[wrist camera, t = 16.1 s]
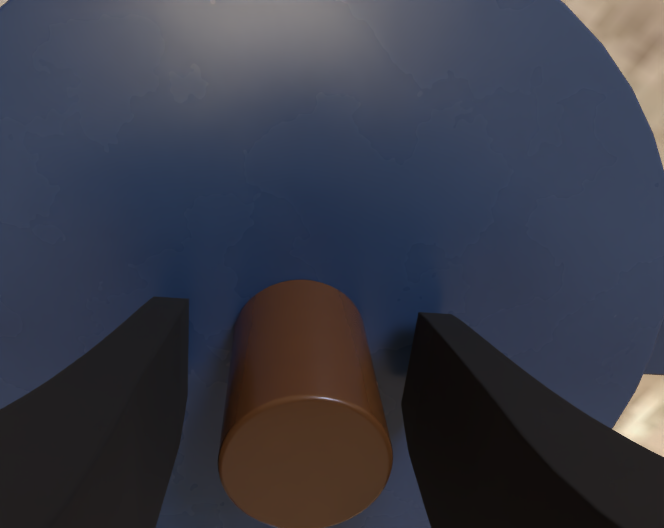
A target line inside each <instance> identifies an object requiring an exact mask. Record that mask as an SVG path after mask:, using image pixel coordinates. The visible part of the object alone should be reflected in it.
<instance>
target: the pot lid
mask: <svg viewBox="0 0 664 528" xmlns="http://www.w3.org/2000/svg"><path fill="white" fill-rule="evenodd" d="M153 296H154V297H171V298H188V299H189V344H188V397H187V403H186V410H185V416H184V422H183V428H182V434H181V440H180V445H179V449H178V453H177V456H176V460H175V463H174V466H173V470H172V473H171V477H170V480H169V484H168V487H167V490H166V494H165V497H164V500H163V504H162V507H161V511H160V514H159V517H158V521H157V524H156V528H431V526H430V523H429V519H428V516H427V513H426V510H425V506H424V503H423V500H422V497H421V493H420V490H419V487H418V483H417V480H416V477H415V473H414V470H413V466H412V463H411V459H410V456H409V452H408V447H407V441H406V435H405V429H404V422H403V415H402V408H401V401H402V396H403V391H404V385H405V380H406V375H407V370H408V365H409V359H410V354H411V349H412V344H413V338H414V333H415V328H416V323H417V317H418V312H426V313H443V314H452V315H454V316H455V317H457V318H458V319H460V320H461V321H462V322H464V323H465V324H466V325H468V326H469V327H470V328H472V329H473V330H474V331H475V332H477V333H478V334H479V335H480V336H482V337H483V338H484V339H485V340H487V341H488V342H489V343H490V344H491V345H493V346H494V347H495V348H496V349H498V350H499V351H500V352H501V353H503V354H504V355H505V356H506V357H508V358H509V359H510V360H512V361H513V362H514V363H515V364H517V365H518V366H519V367H521V368H522V369H523V370H524V371H526V372H527V373H528V374H530V375H531V376H532V377H534V378H535V379H536V380H538V381H539V382H541V383H542V384H543V385H545V386H546V387H547V388H549V389H550V390H552V391H553V392H555V393H556V394H558V395H559V396H560V397H562V398H563V399H565V400H566V401H568V402H569V403H570V404H572V405H573V406H575V407H576V408H578V409H580V410H581V411H583V412H584V413H586V414H587V415H589V416H590V417H592V418H594V419H595V420H597V421H599V422H601V423H602V424H604V425H606V426H607V427H609V428H611V429H612V428H613V427H614V425H615V424H616V422H617V420H618V419H619V417H620V415H621V414H622V412H623V411H624V409H625V407H626V406H627V404H628V402H629V401H630V399H631V398H632V396H633V394H634V393H635V391H636V389H637V386H638V384H639V382H640V380H641V378H642V375H643V373H644V371H645V369H646V367H647V365H648V362H649V360H650V358H651V356H652V353H653V350H654V347H655V344H656V340H657V337H658V334H659V331H660V327H661V324H662V321H663V318H664V170H663V166H662V163H661V159H660V156H659V152H658V149H657V145H656V142H655V138H654V135H653V132H652V130H651V128H650V126H649V124H648V121H647V119H646V117H645V115H644V113H643V111H642V109H641V106H640V104H639V102H638V100H637V98H636V96H635V94H634V91H633V89H632V87H631V86H630V84H629V83H628V81H627V80H626V78H625V77H624V75H623V74H622V72H621V71H620V70H619V68H618V67H617V65H616V64H615V62H614V61H613V59H612V58H611V56H610V55H609V53H608V52H607V50H606V49H605V47H604V46H603V44H602V43H601V42H600V41H599V40H598V39H597V38H596V37H595V36H594V35H593V33H592V32H591V31H590V30H589V29H588V28H587V27H586V26H585V25H584V24H583V23H582V22H581V21H580V20H579V18H578V17H577V16H576V15H575V14H574V13H573V12H572V11H571V10H570V9H569V8H568V7H567V6H566V4H565V3H563V2H562V1H561V0H8V1H7V2H6V3H5V4H3V5H2V6H1V7H0V409H2V408H4V407H5V406H7V405H9V404H11V403H12V402H14V401H16V400H17V399H19V398H21V397H23V396H24V395H26V394H28V393H29V392H31V391H32V390H34V389H36V388H37V387H39V386H40V385H42V384H43V383H45V382H47V381H48V380H50V379H51V378H53V377H54V376H55V375H57V374H58V373H59V372H61V371H62V370H64V369H65V368H66V367H68V366H69V365H70V364H72V363H73V362H75V361H76V360H77V359H79V358H80V357H81V356H83V355H84V354H86V353H87V352H88V351H89V350H91V349H92V348H93V347H94V346H95V345H97V344H98V343H99V342H100V341H102V340H103V339H104V338H105V337H106V336H108V335H109V334H110V333H111V332H112V331H114V330H115V329H116V328H117V327H118V326H119V325H121V324H122V323H123V322H124V321H125V320H126V319H127V318H129V317H130V316H131V315H132V314H133V313H134V312H135V311H137V310H138V309H139V308H140V307H141V306H142V305H144V304H145V303H146V302H147V301H148V300H150V299H151V298H152V297H153Z"/></svg>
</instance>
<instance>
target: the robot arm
mask: <svg viewBox="0 0 664 528" xmlns="http://www.w3.org/2000/svg"><path fill="white" fill-rule="evenodd" d="M188 344H189V299H188V298H171V297H154V296H153V297H152V298H151V299H150V300H148V301H147V302H146V303H145V304H144V305H142V306H141V307H140V308H139V309H138V310H137V311H135V312H134V313H133V314H132V315H131V316H130V317H129V318H127V319H126V320H125V321H124V322H123V323H122V324H121V325H119V326H118V327H117V328H116V329H115V330H114V331H112V332H111V333H110V334H109V335H108V336H106V337H105V338H104V339H103V340H102V341H100V342H99V343H98V344H97V345H95V346H94V347H93V348H92V349H91V350H89V351H88V352H87V353H86V354H84V355H83V356H81V357H80V358H79V359H77V360H76V361H75V362H73V363H72V364H70V365H69V366H68V367H66V368H65V369H64V370H62V371H61V372H59V373H58V374H57V375H55V376H54V377H53V378H51V379H50V380H48V381H47V382H45V383H43V384H42V385H40V386H39V387H37V388H36V389H34V390H32V391H31V392H29V393H28V394H26V395H24V396H23V397H21V398H19V399H17V400H16V401H14V402H12V403H11V404H9V405H7V406H5V407H4V408H2V409H0V528H156V524H157V521H158V517H159V514H160V511H161V507H162V504H163V500H164V497H165V494H166V490H167V487H168V484H169V480H170V477H171V473H172V470H173V466H174V463H175V460H176V456H177V453H178V449H179V445H180V440H181V434H182V428H183V422H184V416H185V410H186V403H187V397H188ZM401 408H402V415H403V422H404V429H405V435H406V441H407V447H408V452H409V456H410V459H411V463H412V466H413V470H414V473H415V477H416V480H417V483H418V487H419V490H420V493H421V497H422V500H423V503H424V506H425V510H426V513H427V516H428V519H429V523H430V526H431V528H664V457H662V456H660V455H658V454H656V453H654V452H652V451H650V450H648V449H646V448H644V447H642V446H641V445H639V444H637V443H635V442H633V441H631V440H630V439H628V438H626V437H624V436H623V435H621V434H619V433H618V432H616V431H614V430H612V429H611V428H609V427H607V426H606V425H604V424H602V423H601V422H599V421H597V420H595V419H594V418H592V417H590V416H589V415H587V414H586V413H584V412H583V411H581V410H580V409H578V408H576V407H575V406H573V405H572V404H570V403H569V402H568V401H566V400H565V399H563V398H562V397H560V396H559V395H558V394H556V393H555V392H553V391H552V390H550V389H549V388H547V387H546V386H545V385H543V384H542V383H541V382H539V381H538V380H536V379H535V378H534V377H532V376H531V375H530V374H528V373H527V372H526V371H524V370H523V369H522V368H521V367H519V366H518V365H517V364H515V363H514V362H513V361H512V360H510V359H509V358H508V357H506V356H505V355H504V354H503V353H501V352H500V351H499V350H498V349H496V348H495V347H494V346H493V345H491V344H490V343H489V342H488V341H487V340H485V339H484V338H483V337H482V336H480V335H479V334H478V333H477V332H475V331H474V330H473V329H472V328H470V327H469V326H468V325H466V324H465V323H464V322H462V321H461V320H460V319H458V318H457V317H455V316H454V315H452V314H443V313H426V312H418V317H417V323H416V328H415V333H414V338H413V344H412V349H411V354H410V359H409V365H408V370H407V375H406V380H405V385H404V391H403V396H402V401H401Z"/></svg>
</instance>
